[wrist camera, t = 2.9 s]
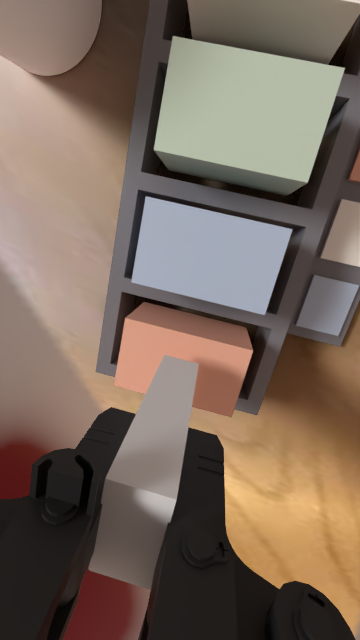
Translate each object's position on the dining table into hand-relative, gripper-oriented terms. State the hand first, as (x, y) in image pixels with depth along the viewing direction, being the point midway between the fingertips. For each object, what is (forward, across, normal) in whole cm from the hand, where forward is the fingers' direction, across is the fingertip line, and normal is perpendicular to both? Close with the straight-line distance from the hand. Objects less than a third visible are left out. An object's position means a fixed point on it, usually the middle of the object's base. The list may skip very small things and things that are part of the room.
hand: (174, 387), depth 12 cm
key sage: (+5, 0, +11) cm, 12 cm away
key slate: (+5, 0, +6) cm, 7 cm away
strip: (+8, +8, +8) cm, 14 cm away
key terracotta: (+5, 0, 0) cm, 5 cm away
